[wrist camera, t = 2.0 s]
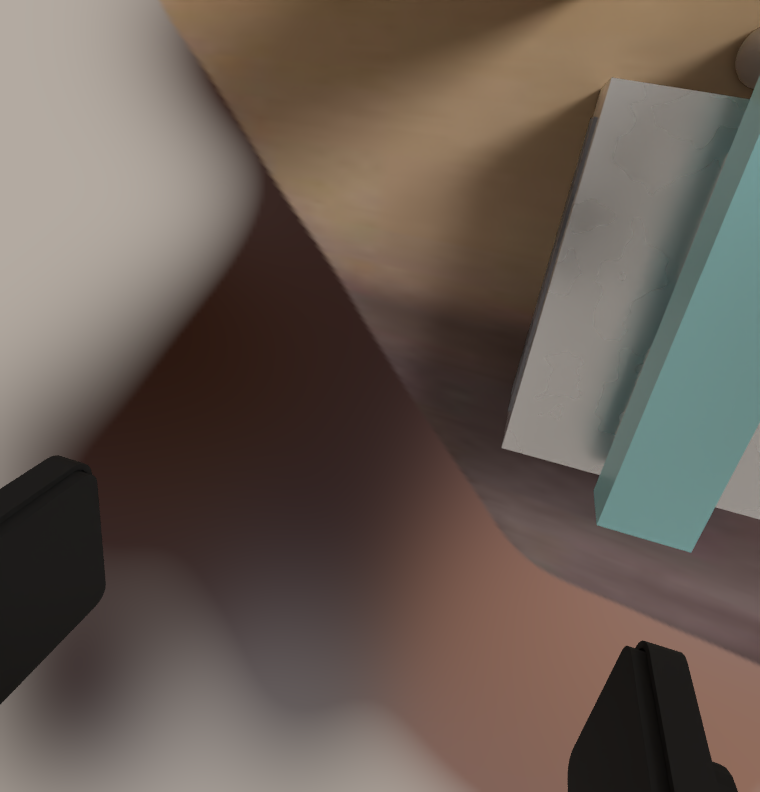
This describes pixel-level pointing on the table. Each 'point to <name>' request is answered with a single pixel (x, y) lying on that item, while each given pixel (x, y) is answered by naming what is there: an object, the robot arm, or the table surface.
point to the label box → (621, 273)
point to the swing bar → (697, 363)
